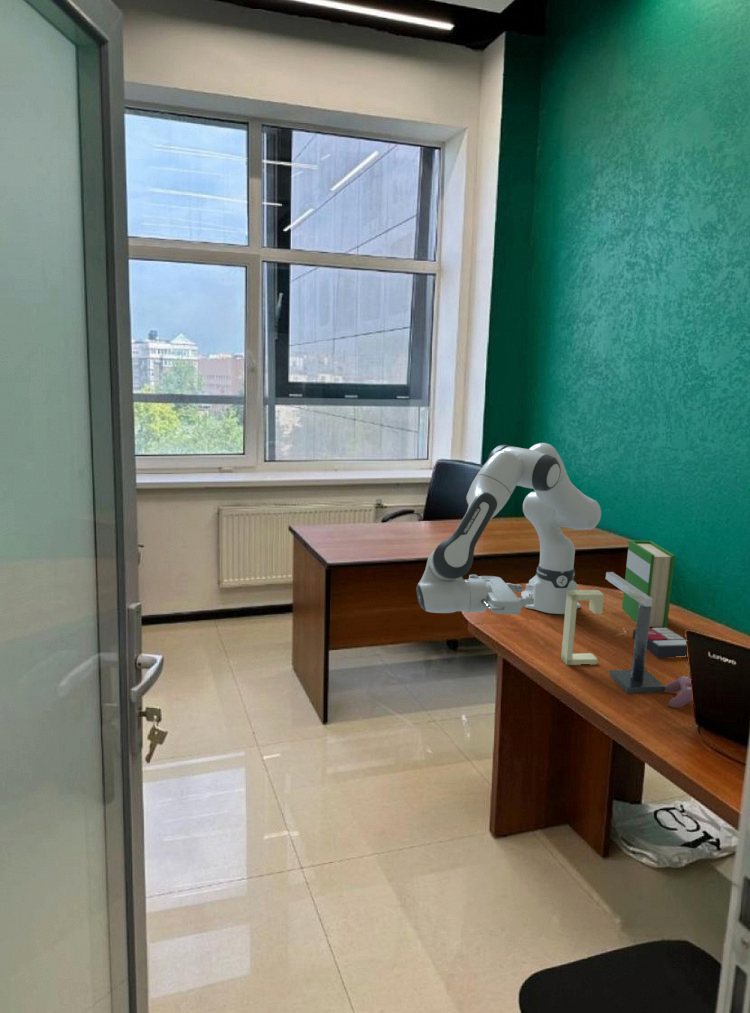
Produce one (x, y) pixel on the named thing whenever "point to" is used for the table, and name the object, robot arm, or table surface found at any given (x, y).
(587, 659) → the c-shaped bracket
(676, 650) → the calculator
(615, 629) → the table surface
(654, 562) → the hardback book
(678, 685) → the video game controller
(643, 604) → the hook stand
